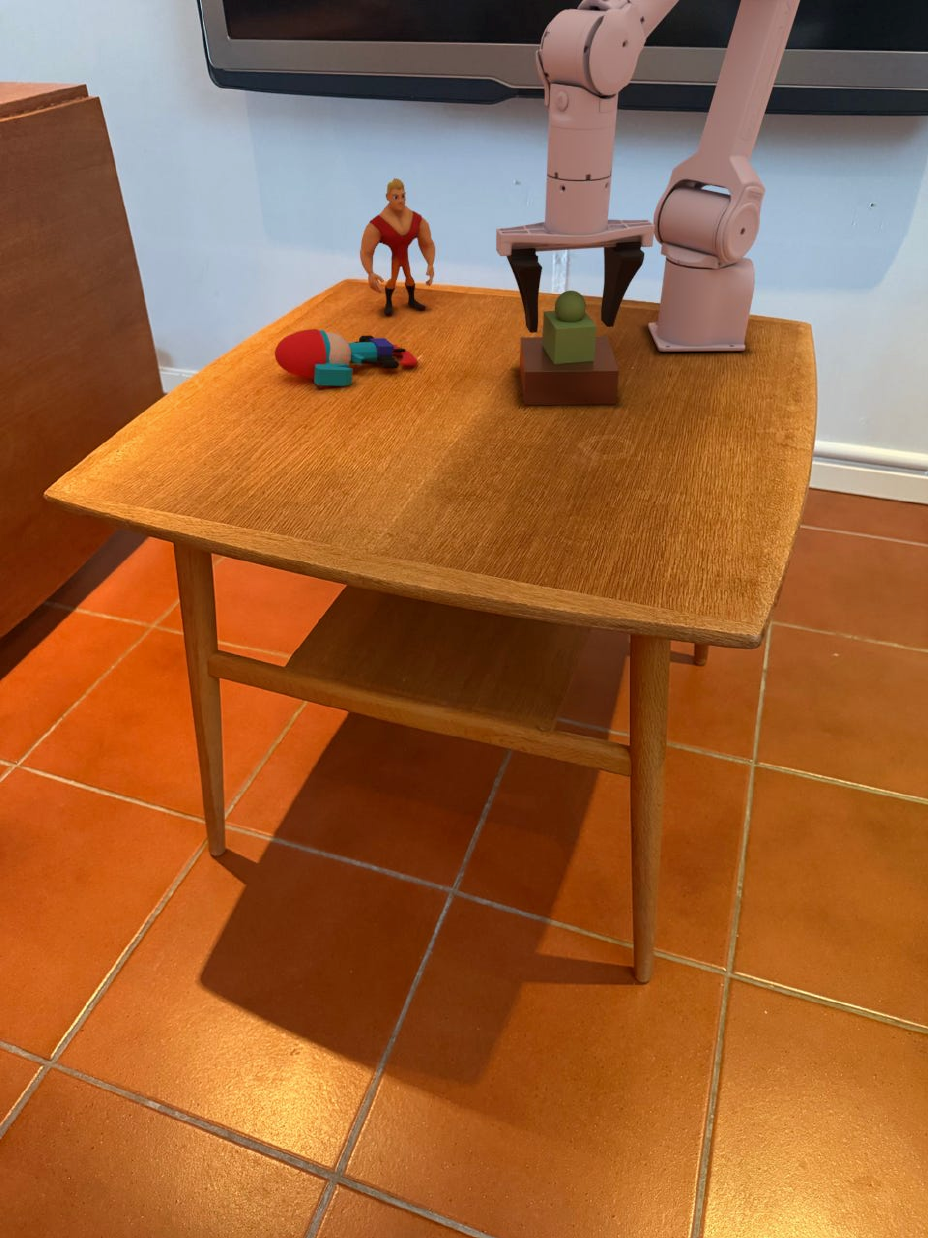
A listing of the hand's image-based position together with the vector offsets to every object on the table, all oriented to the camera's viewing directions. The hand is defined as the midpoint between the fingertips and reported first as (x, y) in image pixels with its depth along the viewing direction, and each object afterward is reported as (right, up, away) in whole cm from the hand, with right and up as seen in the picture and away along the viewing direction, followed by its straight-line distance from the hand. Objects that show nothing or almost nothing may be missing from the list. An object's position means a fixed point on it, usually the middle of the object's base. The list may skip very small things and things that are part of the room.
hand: (569, 326), depth 86 cm
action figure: (-18, +9, +23) cm, 30 cm away
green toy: (0, -2, +2) cm, 3 cm away
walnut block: (0, -5, +4) cm, 6 cm away
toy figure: (-23, -2, +8) cm, 24 cm away
